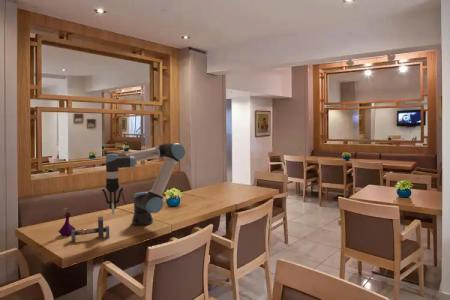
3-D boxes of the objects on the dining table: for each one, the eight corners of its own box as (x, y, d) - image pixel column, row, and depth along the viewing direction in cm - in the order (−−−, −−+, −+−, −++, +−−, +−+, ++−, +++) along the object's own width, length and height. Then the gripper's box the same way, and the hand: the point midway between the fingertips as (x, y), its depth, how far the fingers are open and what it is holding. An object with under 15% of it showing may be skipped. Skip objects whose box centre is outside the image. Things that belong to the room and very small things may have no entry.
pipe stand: (109, 235, 206) (108, 225, 206) (109, 237, 202) (109, 227, 201) (72, 239, 198) (71, 229, 198) (71, 242, 193) (71, 231, 193)
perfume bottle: (65, 232, 212) (64, 206, 211) (75, 233, 212) (74, 206, 210) (58, 236, 205) (57, 209, 204) (69, 236, 204) (67, 209, 203)
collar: (103, 233, 207) (102, 216, 206) (103, 238, 198) (103, 220, 198) (98, 234, 206) (98, 216, 205) (98, 238, 197) (97, 220, 197)
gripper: (122, 176, 209) (123, 211, 210) (101, 177, 204) (102, 213, 205) (123, 178, 202) (123, 214, 203) (101, 179, 197) (102, 216, 198)
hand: (113, 213), depth 204 cm, fingers closed
